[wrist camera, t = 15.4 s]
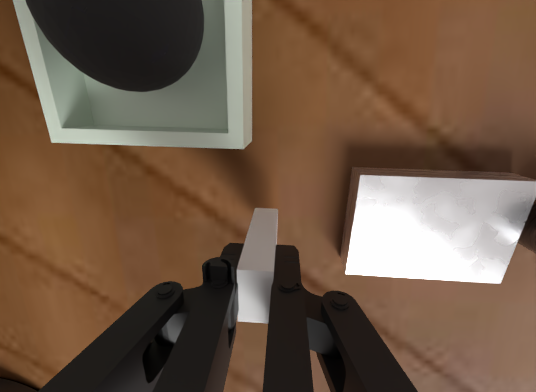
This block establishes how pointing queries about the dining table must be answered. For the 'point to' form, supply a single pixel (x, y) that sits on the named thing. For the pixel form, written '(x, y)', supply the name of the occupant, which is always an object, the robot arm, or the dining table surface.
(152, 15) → the light bulb
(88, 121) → the tray
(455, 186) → the white stone flat block
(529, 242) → the cylinder
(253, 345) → the dining table surface
